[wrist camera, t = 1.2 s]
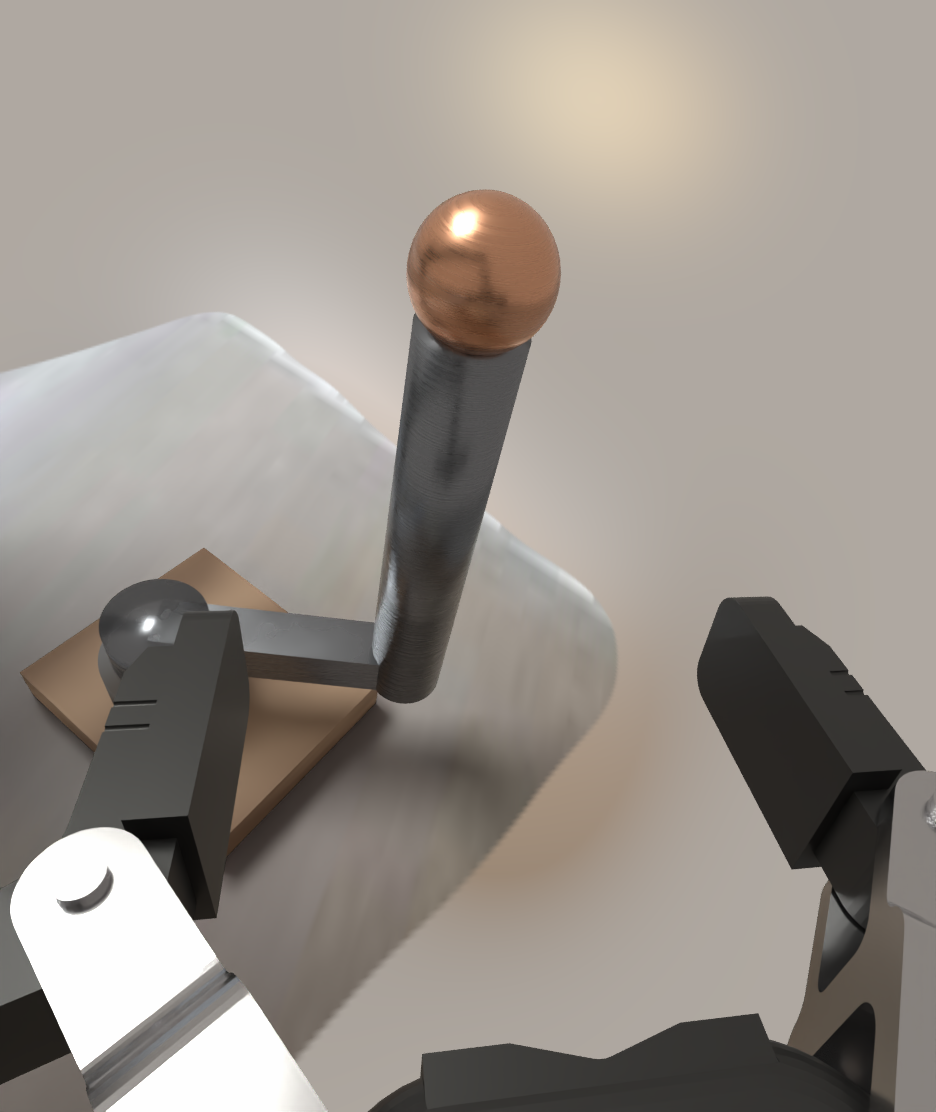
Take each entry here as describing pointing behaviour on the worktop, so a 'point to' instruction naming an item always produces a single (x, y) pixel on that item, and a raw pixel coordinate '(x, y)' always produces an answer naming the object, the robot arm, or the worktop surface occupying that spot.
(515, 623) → the worktop surface
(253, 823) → the cracker base
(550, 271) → the lever
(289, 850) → the worktop surface
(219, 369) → the worktop surface
